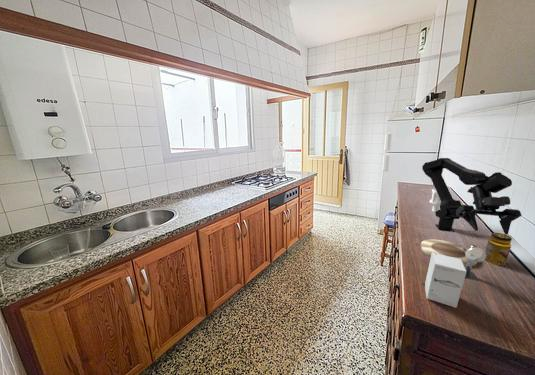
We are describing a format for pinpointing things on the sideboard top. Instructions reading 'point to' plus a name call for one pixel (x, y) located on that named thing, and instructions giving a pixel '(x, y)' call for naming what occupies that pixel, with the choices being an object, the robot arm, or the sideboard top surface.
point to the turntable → (444, 249)
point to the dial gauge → (473, 260)
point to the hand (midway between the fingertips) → (491, 232)
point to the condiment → (498, 249)
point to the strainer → (435, 200)
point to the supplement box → (445, 279)
